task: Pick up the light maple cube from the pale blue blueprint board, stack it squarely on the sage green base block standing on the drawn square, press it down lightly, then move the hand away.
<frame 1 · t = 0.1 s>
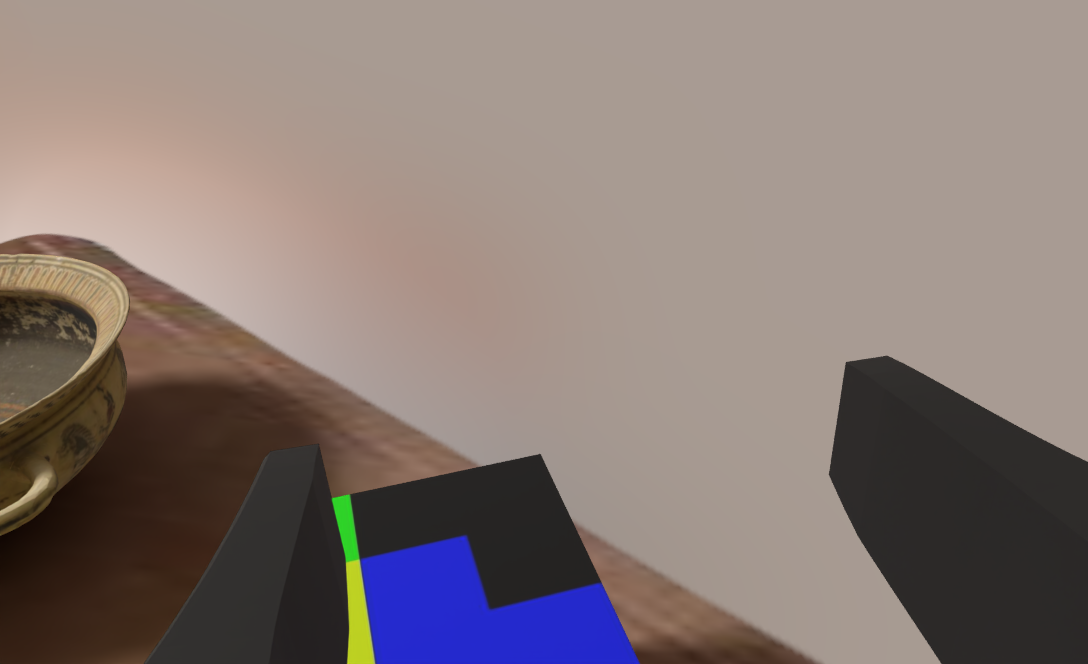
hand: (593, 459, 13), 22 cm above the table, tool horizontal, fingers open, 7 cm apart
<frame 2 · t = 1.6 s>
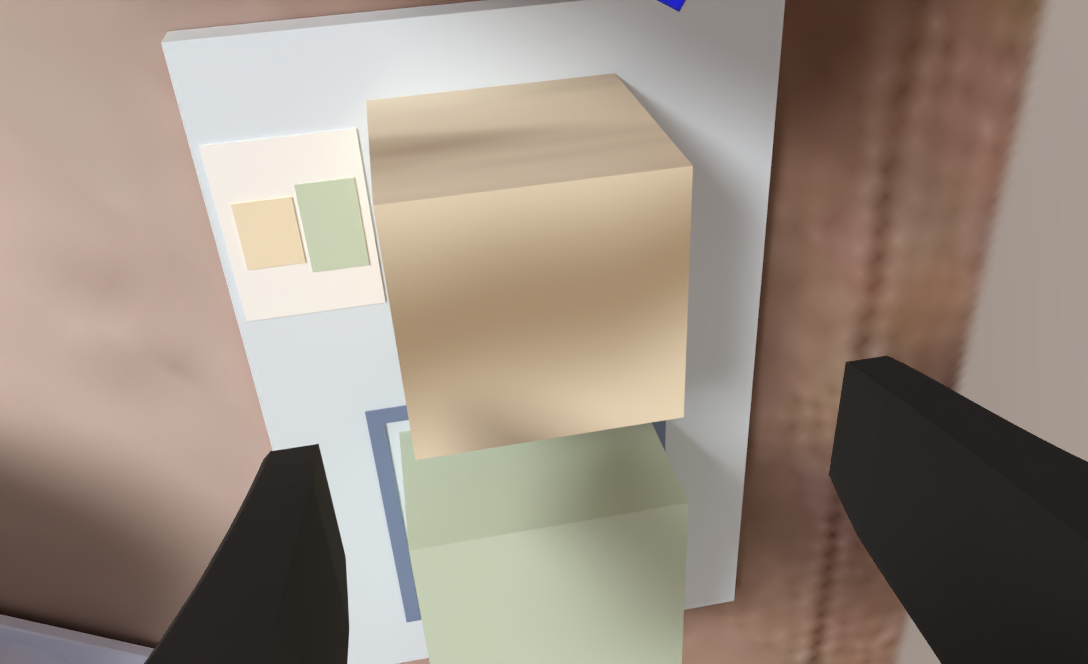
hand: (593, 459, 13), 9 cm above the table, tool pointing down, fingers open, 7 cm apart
blueprint board: (514, 372, 23), on the table
maple block: (502, 201, 20), point 1 cm above the table, touching blueprint board
sage base block: (528, 503, 24), point 1 cm above the table, touching blueprint board
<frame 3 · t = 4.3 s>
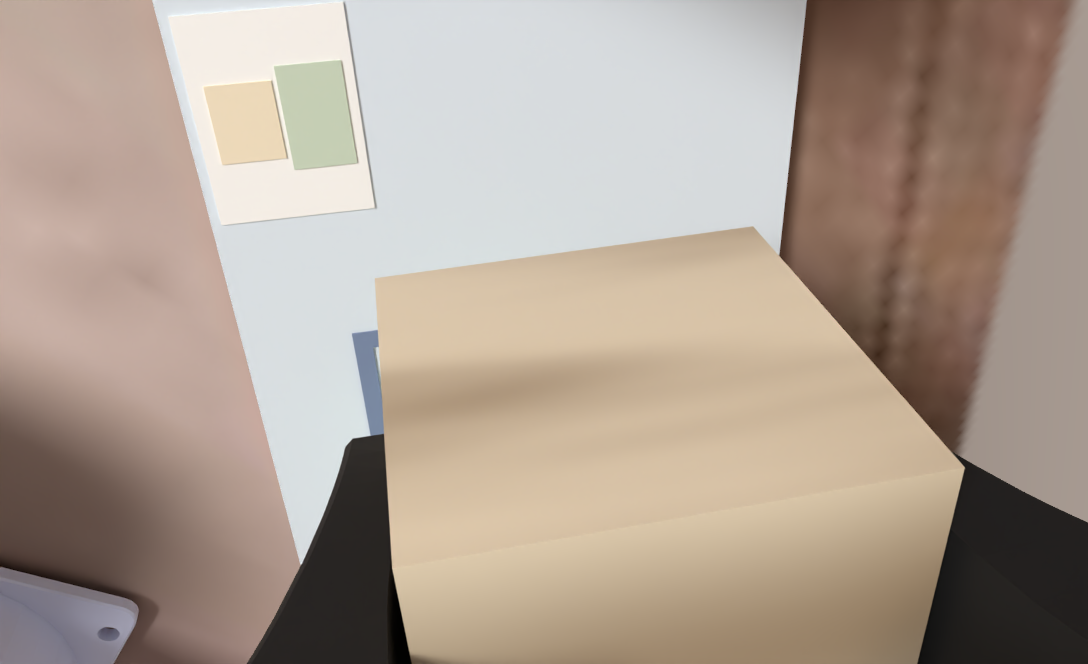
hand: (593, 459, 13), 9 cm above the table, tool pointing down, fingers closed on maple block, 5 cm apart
blueprint board: (514, 297, 21), on the table
maple block: (576, 406, 13), point 8 cm above the table, touching gripper
when the fingers open (7 cm above the table, at t = 5.6 s): maple block stays where it is, resting on sage base block.
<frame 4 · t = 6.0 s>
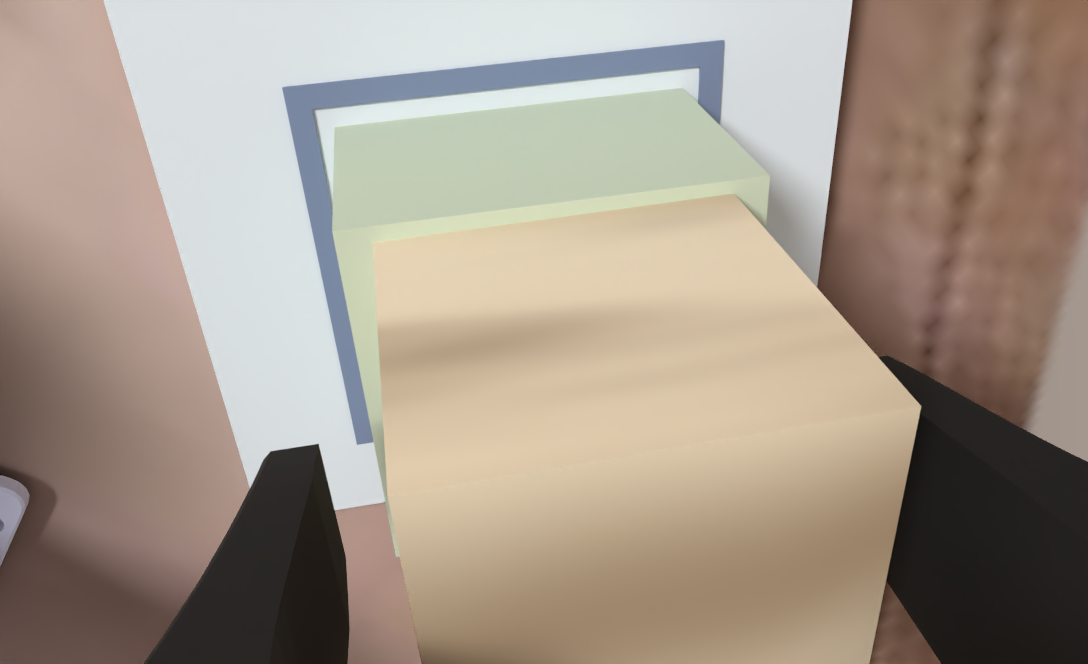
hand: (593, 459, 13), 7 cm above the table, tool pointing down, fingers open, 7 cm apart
blueprint board: (502, 55, 16), on the table
maple block: (566, 368, 14), point 5 cm above the table, touching sage base block
sage base block: (523, 261, 17), point 1 cm above the table, touching blueprint board, maple block
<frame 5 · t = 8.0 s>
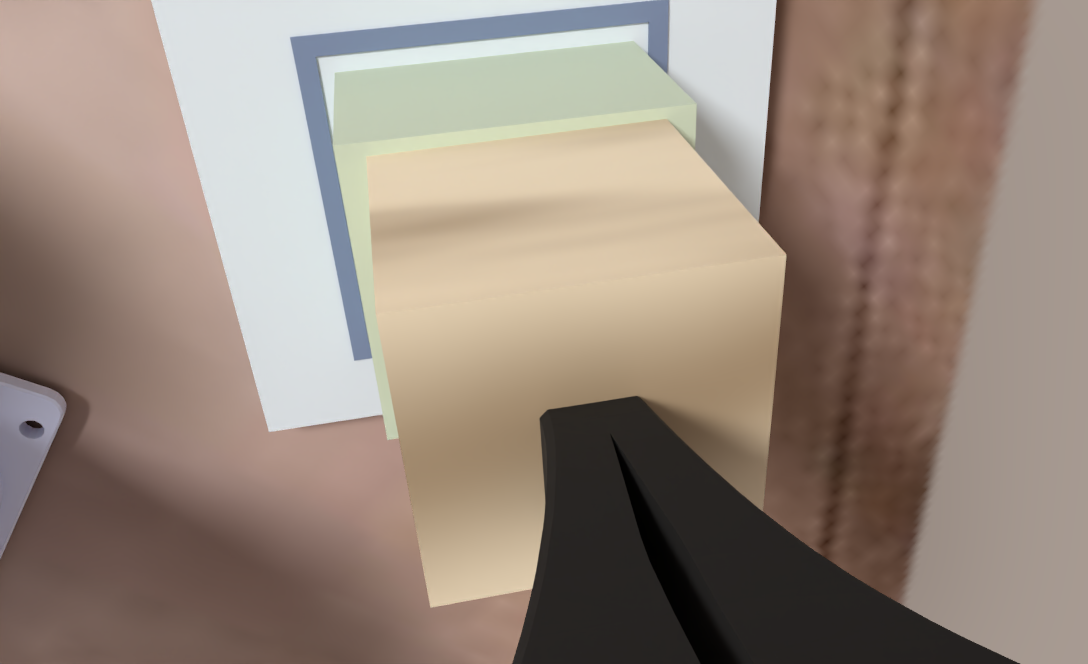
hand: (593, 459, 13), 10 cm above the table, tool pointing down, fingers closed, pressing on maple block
blueprint board: (479, 13, 19), on the table
maple block: (529, 270, 16), point 5 cm above the table, touching gripper, sage base block
sage base block: (499, 195, 20), point 1 cm above the table, touching blueprint board, maple block
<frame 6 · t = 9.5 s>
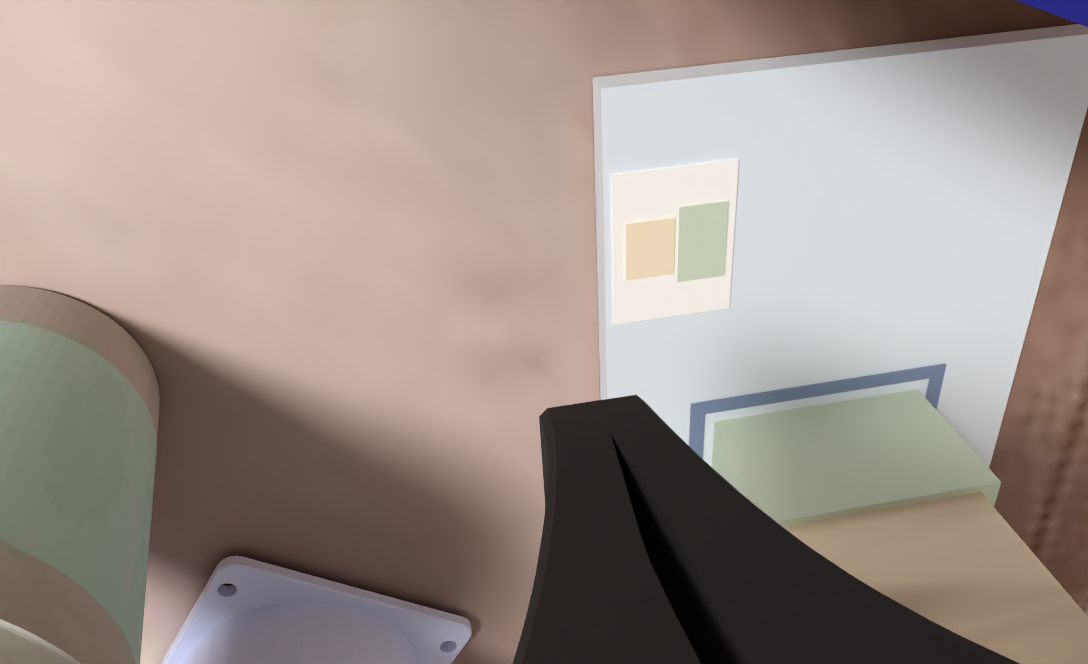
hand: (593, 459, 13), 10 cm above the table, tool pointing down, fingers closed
blueprint board: (807, 369, 26), on the table
coffee cup: (32, 385, 22), on the table
maple block: (872, 579, 24), point 5 cm above the table, touching sage base block
sage base block: (806, 485, 27), point 1 cm above the table, touching blueprint board, maple block
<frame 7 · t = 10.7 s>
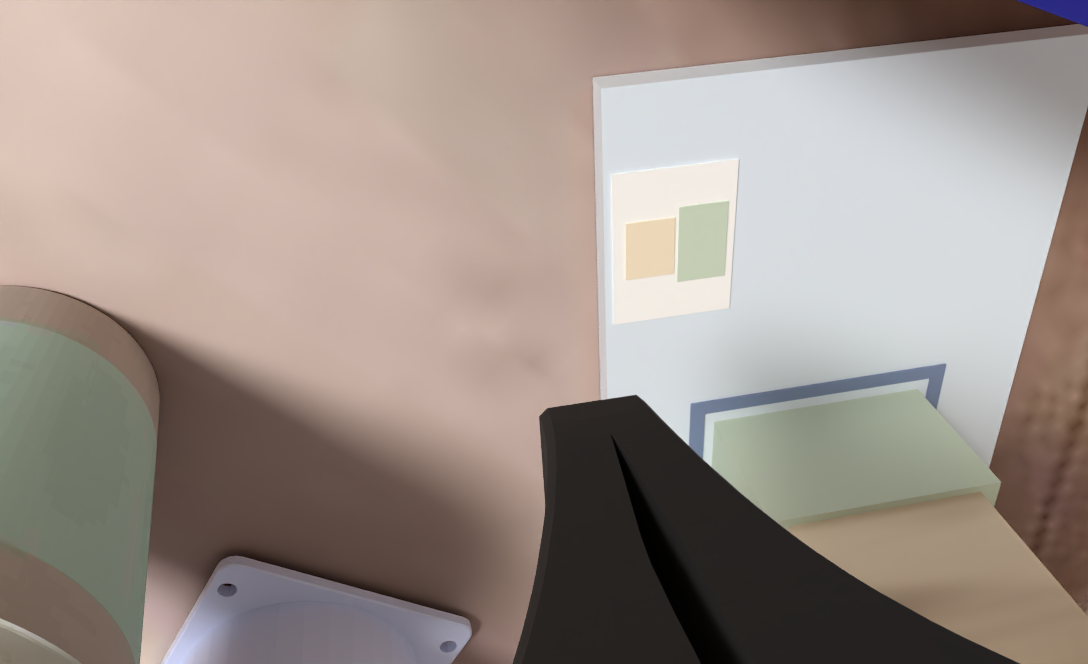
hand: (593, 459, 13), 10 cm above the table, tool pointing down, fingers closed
blueprint board: (807, 369, 26), on the table
coffee cup: (32, 385, 22), on the table
maple block: (872, 579, 24), point 5 cm above the table, touching sage base block
sage base block: (806, 485, 27), point 1 cm above the table, touching blueprint board, maple block
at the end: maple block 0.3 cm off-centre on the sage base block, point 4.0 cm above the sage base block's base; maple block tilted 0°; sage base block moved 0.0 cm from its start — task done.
